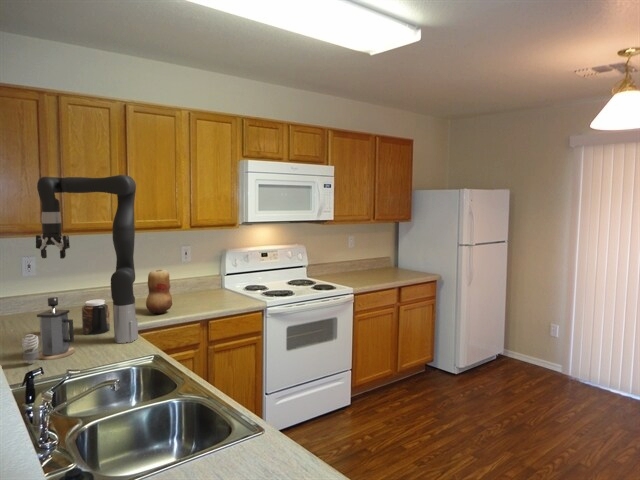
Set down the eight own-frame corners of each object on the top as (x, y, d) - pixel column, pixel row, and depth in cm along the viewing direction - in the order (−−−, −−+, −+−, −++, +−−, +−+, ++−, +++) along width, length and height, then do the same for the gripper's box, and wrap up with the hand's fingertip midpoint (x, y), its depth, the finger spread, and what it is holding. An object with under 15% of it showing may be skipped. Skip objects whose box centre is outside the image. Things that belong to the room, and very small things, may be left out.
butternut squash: (149, 317, 248) (148, 272, 246) (144, 312, 259) (142, 268, 257) (175, 314, 256) (174, 270, 253) (169, 309, 267) (167, 266, 264)
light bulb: (19, 365, 178) (17, 335, 177) (33, 360, 183) (31, 331, 182) (29, 367, 176) (28, 337, 175) (43, 362, 181) (41, 333, 180)
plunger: (68, 342, 194) (65, 296, 192) (57, 348, 187) (55, 300, 185) (52, 342, 194) (50, 296, 192) (41, 347, 188) (39, 299, 186)
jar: (95, 336, 215) (94, 305, 214) (77, 333, 219) (75, 302, 218) (115, 329, 226) (113, 299, 225) (96, 326, 230) (95, 297, 229)
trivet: (81, 348, 197) (81, 347, 197) (60, 360, 184) (60, 358, 184) (50, 347, 199) (50, 346, 198) (27, 359, 185) (27, 357, 185)
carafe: (80, 348, 195) (78, 309, 194) (66, 356, 186) (64, 315, 184) (52, 347, 196) (50, 309, 194) (36, 355, 187) (34, 315, 185)
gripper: (72, 221, 206) (73, 257, 207) (42, 221, 207) (44, 256, 208) (61, 222, 198) (63, 259, 200) (30, 222, 199) (32, 259, 201)
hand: (53, 258), depth 204 cm, fingers open, 8 cm apart
